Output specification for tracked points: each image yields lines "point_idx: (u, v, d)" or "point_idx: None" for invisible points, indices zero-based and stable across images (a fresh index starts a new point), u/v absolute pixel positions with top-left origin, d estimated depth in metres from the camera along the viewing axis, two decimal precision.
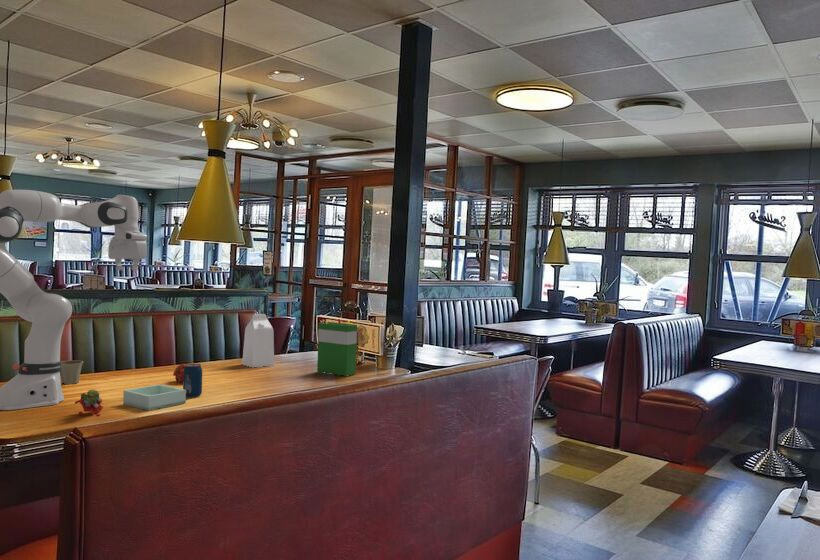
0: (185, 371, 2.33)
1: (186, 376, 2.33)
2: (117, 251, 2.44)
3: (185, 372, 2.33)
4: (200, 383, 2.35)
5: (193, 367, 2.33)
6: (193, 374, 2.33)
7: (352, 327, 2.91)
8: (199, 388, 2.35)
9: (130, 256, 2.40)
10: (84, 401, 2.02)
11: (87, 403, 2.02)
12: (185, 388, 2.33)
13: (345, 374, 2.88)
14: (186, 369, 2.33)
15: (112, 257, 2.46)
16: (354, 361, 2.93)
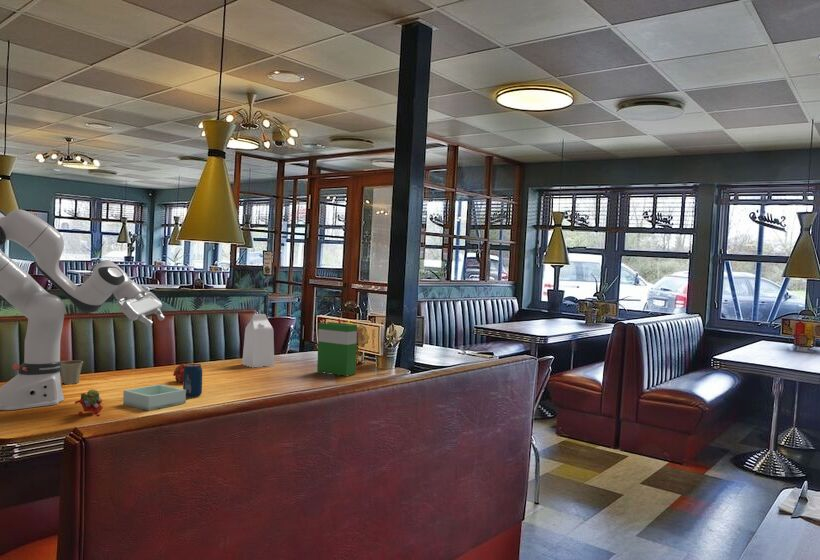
0: (185, 371, 2.33)
1: (186, 376, 2.33)
2: (141, 306, 2.27)
3: (185, 372, 2.33)
4: (200, 383, 2.35)
5: (193, 367, 2.33)
6: (193, 374, 2.33)
7: (352, 327, 2.90)
8: (199, 388, 2.35)
9: (156, 305, 2.36)
10: (84, 401, 2.02)
11: (87, 403, 2.02)
12: (185, 388, 2.33)
13: (345, 374, 2.88)
14: (186, 369, 2.33)
15: (141, 312, 2.24)
16: (354, 361, 2.93)
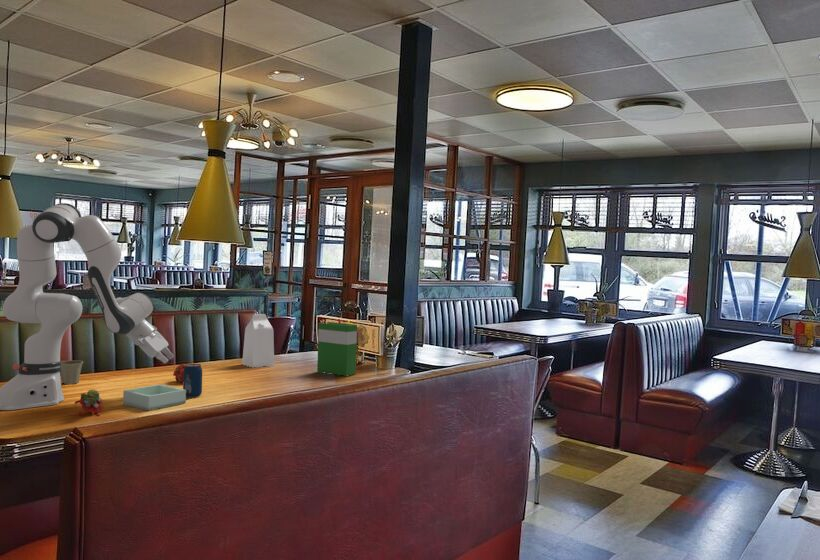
0: (185, 371, 2.33)
1: (186, 376, 2.33)
2: (156, 344, 2.28)
3: (185, 372, 2.33)
4: (200, 383, 2.35)
5: (193, 367, 2.33)
6: (193, 374, 2.33)
7: (352, 327, 2.90)
8: (199, 388, 2.35)
9: (165, 344, 2.37)
10: (84, 401, 2.02)
11: (87, 403, 2.02)
12: (185, 388, 2.33)
13: (345, 374, 2.88)
14: (186, 369, 2.33)
15: (159, 349, 2.26)
16: (354, 361, 2.93)
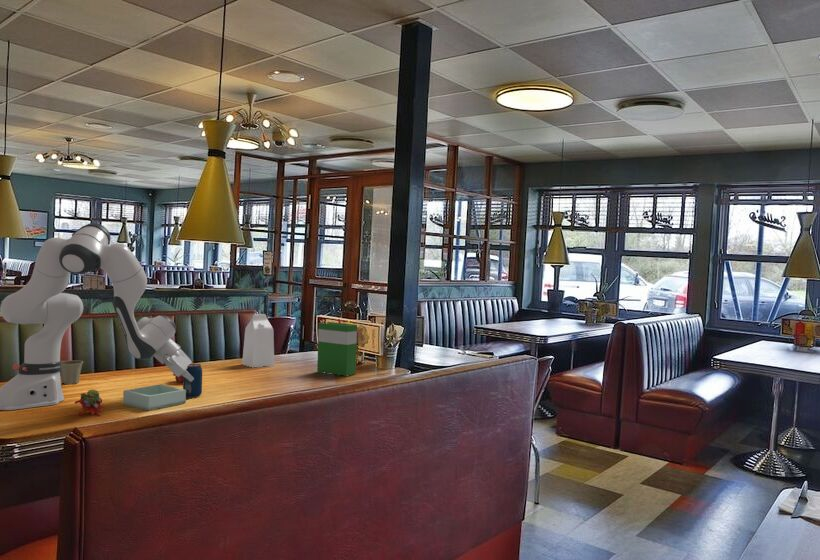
0: None
1: None
2: (182, 362, 2.32)
3: None
4: (200, 383, 2.35)
5: (193, 367, 2.33)
6: (193, 374, 2.33)
7: (352, 327, 2.90)
8: (199, 388, 2.35)
9: (189, 362, 2.40)
10: (84, 401, 2.02)
11: (87, 403, 2.02)
12: (185, 388, 2.33)
13: (345, 374, 2.88)
14: (186, 369, 2.33)
15: (185, 368, 2.29)
16: (354, 361, 2.93)
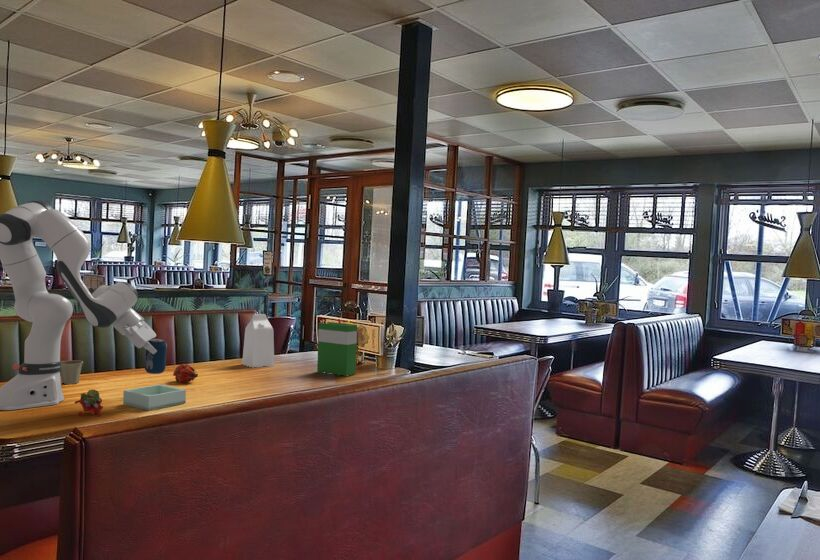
0: None
1: (148, 351, 2.18)
2: (144, 334, 2.17)
3: None
4: (163, 359, 2.20)
5: (156, 342, 2.18)
6: None
7: (352, 327, 2.91)
8: (162, 365, 2.20)
9: (153, 335, 2.25)
10: (84, 401, 2.02)
11: (87, 403, 2.02)
12: (146, 364, 2.19)
13: (345, 374, 2.88)
14: None
15: (147, 339, 2.14)
16: (354, 361, 2.93)
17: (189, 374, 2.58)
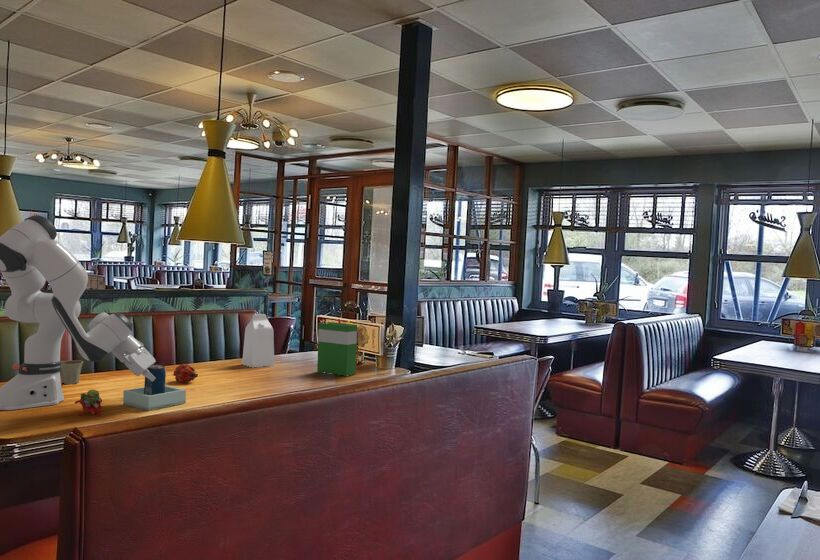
0: None
1: (147, 378, 2.18)
2: (143, 361, 2.17)
3: None
4: (162, 386, 2.20)
5: (155, 369, 2.18)
6: None
7: (352, 327, 2.91)
8: (160, 391, 2.20)
9: (152, 361, 2.25)
10: (84, 401, 2.02)
11: (87, 403, 2.02)
12: (145, 390, 2.19)
13: (345, 374, 2.88)
14: None
15: (145, 367, 2.14)
16: (354, 361, 2.93)
17: (189, 374, 2.58)
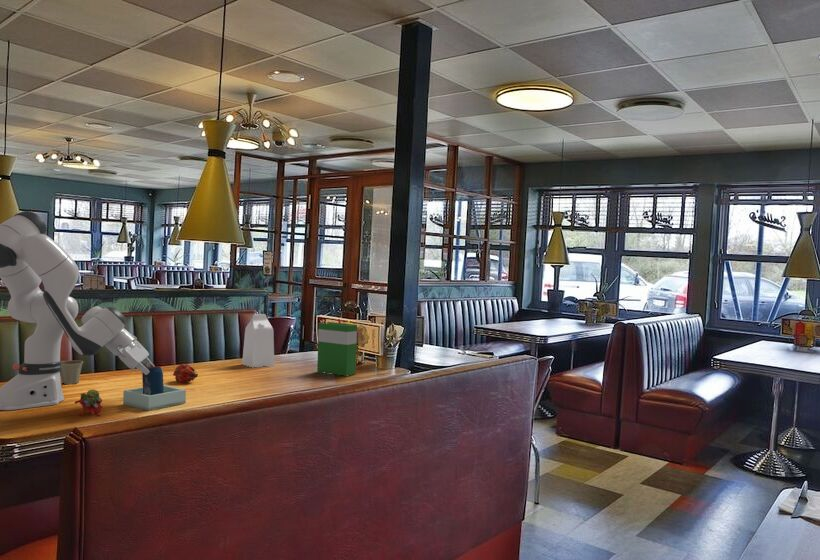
0: (143, 373, 2.18)
1: (144, 378, 2.18)
2: (137, 354, 2.17)
3: (143, 375, 2.18)
4: (160, 385, 2.20)
5: (151, 368, 2.18)
6: (151, 376, 2.18)
7: (352, 327, 2.90)
8: (160, 391, 2.19)
9: (145, 354, 2.26)
10: (84, 401, 2.02)
11: (87, 403, 2.02)
12: (144, 392, 2.18)
13: (345, 374, 2.88)
14: None
15: (140, 360, 2.14)
16: (354, 361, 2.93)
17: (189, 374, 2.58)
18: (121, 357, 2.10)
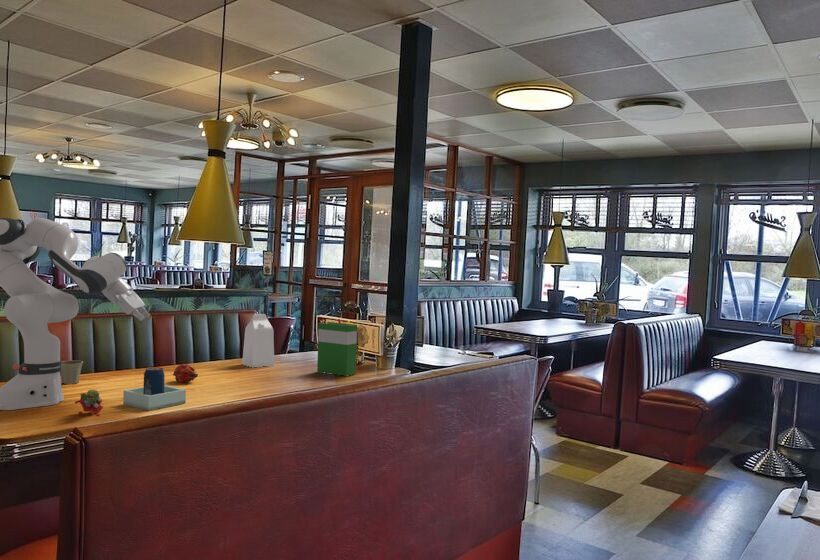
0: (145, 375, 2.17)
1: (146, 380, 2.17)
2: (132, 301, 2.32)
3: (145, 377, 2.17)
4: (161, 388, 2.19)
5: (153, 371, 2.17)
6: (153, 379, 2.17)
7: (352, 327, 2.90)
8: (160, 393, 2.19)
9: (141, 304, 2.41)
10: (84, 401, 2.02)
11: (87, 403, 2.02)
12: (145, 393, 2.17)
13: (345, 374, 2.88)
14: (146, 373, 2.17)
15: (135, 306, 2.29)
16: (354, 361, 2.93)
17: (189, 374, 2.58)
18: (117, 302, 2.25)
